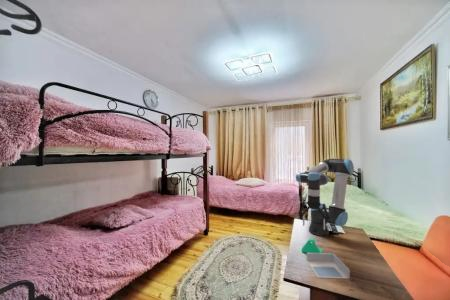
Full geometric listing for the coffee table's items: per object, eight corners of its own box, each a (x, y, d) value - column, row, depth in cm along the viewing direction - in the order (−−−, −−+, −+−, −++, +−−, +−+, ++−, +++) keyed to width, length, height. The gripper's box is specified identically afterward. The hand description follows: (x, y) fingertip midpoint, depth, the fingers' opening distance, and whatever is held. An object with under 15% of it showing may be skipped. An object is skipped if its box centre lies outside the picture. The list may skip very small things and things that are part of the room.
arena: (306, 260, 124) (306, 252, 124) (333, 261, 123) (333, 253, 123) (318, 277, 107) (318, 268, 107) (349, 278, 106) (349, 269, 106)
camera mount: (322, 253, 133) (322, 238, 133) (320, 258, 127) (320, 242, 127) (303, 248, 140) (303, 234, 140) (301, 252, 133) (301, 238, 134)
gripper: (294, 194, 134) (294, 225, 134) (334, 198, 122) (334, 232, 122) (296, 192, 141) (296, 221, 141) (334, 196, 129) (334, 228, 128)
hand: (313, 226), depth 131 cm, fingers open, 12 cm apart
